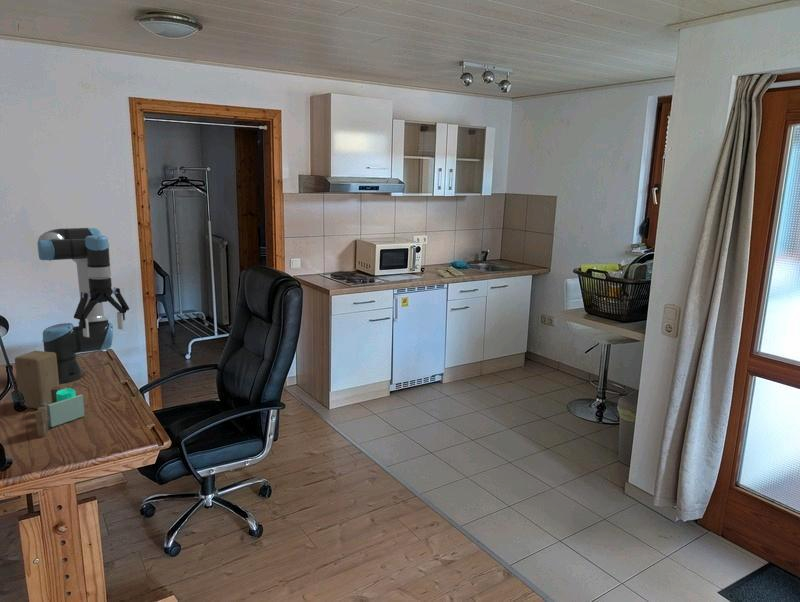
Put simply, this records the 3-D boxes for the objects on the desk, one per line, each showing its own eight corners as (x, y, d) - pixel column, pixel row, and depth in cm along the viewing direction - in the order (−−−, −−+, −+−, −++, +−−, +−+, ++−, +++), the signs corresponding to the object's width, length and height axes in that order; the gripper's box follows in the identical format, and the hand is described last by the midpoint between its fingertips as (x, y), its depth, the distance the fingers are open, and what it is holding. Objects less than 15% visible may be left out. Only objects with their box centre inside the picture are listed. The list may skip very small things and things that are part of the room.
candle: (63, 415, 212) (60, 384, 209) (80, 415, 212) (77, 384, 210) (55, 422, 206) (52, 390, 203) (73, 421, 206) (70, 390, 204)
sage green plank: (51, 427, 200) (49, 405, 199) (49, 426, 201) (47, 405, 199) (84, 415, 211) (82, 395, 209) (82, 415, 211) (80, 394, 210)
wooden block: (41, 410, 215) (36, 359, 211) (18, 407, 217) (13, 357, 213) (61, 400, 225) (57, 351, 221) (40, 398, 227) (34, 349, 223)
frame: (56, 409, 217) (54, 385, 215) (62, 408, 217) (60, 385, 215) (37, 437, 194) (35, 411, 192) (44, 436, 194) (41, 410, 192)
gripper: (125, 272, 225) (128, 324, 230) (59, 280, 204) (65, 338, 209) (136, 274, 221) (140, 327, 226) (71, 283, 201) (76, 341, 205)
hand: (104, 332), depth 217 cm, fingers open, 13 cm apart
